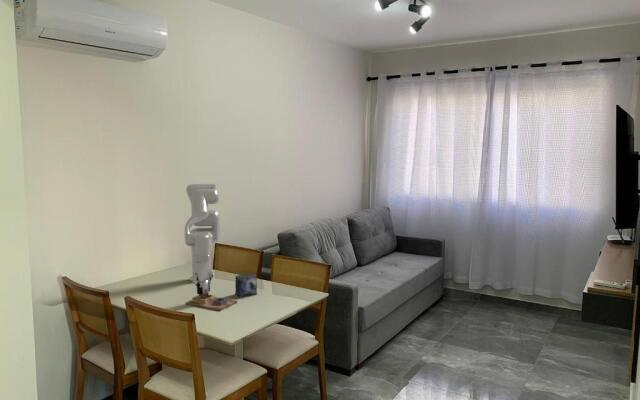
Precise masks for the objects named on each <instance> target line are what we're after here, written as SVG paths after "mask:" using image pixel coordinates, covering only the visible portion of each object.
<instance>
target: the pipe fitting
mask: <svg viewBox="0 0 640 400" xmlns="http://www.w3.org/2000/svg"><path fill="white" fill-rule="evenodd" d="M199 284H200V282H199ZM202 287H203V294H202V295H200V294H198V295H199V296H202V297H204V296H208V295H210V294H209V293H210V291H209V288H208V279H207V280H204V281H202Z"/></svg>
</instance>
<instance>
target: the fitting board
mask: <svg viewBox="0 0 640 400" xmlns="http://www.w3.org/2000/svg"><path fill="white" fill-rule="evenodd" d="M236 304H238V301H237V300H233V299H228V298H224V297H217V296H216V295H215V294H213V295H212V294H209V295H208V296H204V297H202V296H199V294H197V295H196V296H193V297H192V298H191V300H189V301H187V302H185V305H187V306H192V307H196V308H202V309H207V310H212V311H218V312H222V311H223V310H225V309H228V308H230V307H232V306H234V305H236Z"/></svg>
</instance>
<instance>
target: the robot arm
mask: <svg viewBox="0 0 640 400" xmlns="http://www.w3.org/2000/svg"><path fill="white" fill-rule="evenodd" d="M185 192H186V195H187V197H188V199H189V201H190V206H191V216H190V217H189V218H188V220H187V221H186V223H185V226H184V242H185V245H186V246H188V247H191V273H192V274H191V275H192V276H191V277H189V281H190V282H192V283H193V284H194V285H195V287H196V294H197V295H199V294H200V295H202V294H203V287H202V281H204V280H207V279H208V288H209V292H210V291H211V287H210V286H211V281H212V278H213V277H214V274H213V273H214V270H213V267H212V261H211V244H217V243H218V242H220V239H221V237H220V235H221V233H220V231H221V230H220V229H221V228H220V226H221V225H220V214H219V212H218V211H217V210H216V209H209V205H216V204H218V203H219V201H220V200H219V199H220V194H219V189H218V185H217V184H215V183H194V184H193V183H192V184H191V183H190V184H188V185H187V186H186V190H185ZM192 226H194V227H196V228H192ZM191 228H192V229H191ZM199 282H200V284H199Z"/></svg>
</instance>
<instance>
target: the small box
mask: <svg viewBox="0 0 640 400" xmlns="http://www.w3.org/2000/svg"><path fill="white" fill-rule="evenodd" d="M234 277H235V292H234V293H235V295H236V296H237V297H238V298H241V297H248V296H257V294H258V286H257V285H258V276H257V275H256V274H254V273H248V274H239V275H234Z"/></svg>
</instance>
